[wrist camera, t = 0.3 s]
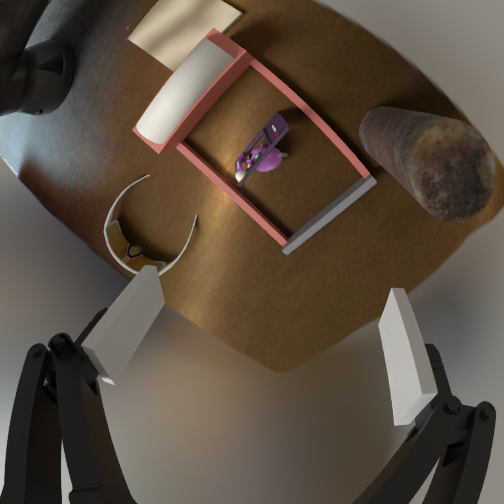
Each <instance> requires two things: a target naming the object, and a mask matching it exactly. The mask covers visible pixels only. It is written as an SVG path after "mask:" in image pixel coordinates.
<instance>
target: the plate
mask: <svg viewBox="0 0 504 504" xmlns="http://www.w3.org/2000/svg"><path fill="white" fill-rule="evenodd" d="M242 15H243V14H242V13H241V12H239V11H238V10H236V9H235V8H233V7H231V6H230V5H228V4H226V3H225V2H223V1H221V0H159V1H158V2H157V3H156V4H155V5H154V7H153V8H152V9H151V10H150V11H149V12H148V14H147V15H146V16H145V17H144V18H143V20H142V21H141V22H140V23H139V25H138V26H137V27H136V28H135V30H134V31H133V32H132V34H131V35H130V36H129V38H128V39H129V40H130V41H132V42H133V43H135V44H136V45H137V46H139V47H140V48H142V49H143V50H145V51H146V52H147V53H149V54H150V55H152V56H153V57H154V58H156V59H157V60H159V61H160V62H161V63H163V64H164V65H165V66H167V67H168V68H169V69H171V70H172V71H173V72H174V71H175V70H176V69H177V68H178V66H179V65H180V64H181V63H182V61H183V60H184V59H185V58H186V57H187V56H188V54H189V53H190V52H191V51H192V50H193V49H194V48H195V47H196V45H197V44H198V43H199V42H200V41H201V40H202V39H203V38H204V37H205V36H206V35H207V34H208V33H209V32H210V31H211V29H212V28H215V29H216V30H218V31H219V32H221V33H222V34H224V33H225V32H226V31H227V30H228V29H229V28H230V27H231V26H232V25H233V24H234V23H235V22H236V21H237V20H238V19H239V18H240V17H241V16H242Z"/></svg>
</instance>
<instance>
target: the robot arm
mask: <svg viewBox="0 0 504 504" xmlns="http://www.w3.org/2000/svg"><path fill="white" fill-rule="evenodd" d="M51 1H52V0H0V116H4V115H7V114H10V113H14V112H19V113H25V114H31V115H43V114H48V113H51V112H53V111H54V110H55V109H57V108H58V107H59V106H60V104H61V103H62V102H63V100H64V99H65V97H66V95H67V93H68V90H69V88H70V85H71V82H72V78H73V73H74V55H73V51H72V48H71V46H70V45H69V44H68V43H67V42H66V41H64V40H55V39H52V40H47V41H44V42H41V43H39V44H36V45H34V46H31V47H28V48H26V49H25V47H26V45H27V43H28V41H29V38H30V36H31V34H32V32H33V31H34V29H35V27H36V25H37V23H38V21H39V19H40V18H41V16H42V14H43V12H44V11H45V9H46V7H47V6H48V4H49V3H51ZM164 304H165V301H164V297H163V293H162V289H161V285H160V280H159V276H158V272H157V267H156V266H150V265H145V266H144V267H143V268H142V269H141V270H140V272H139V273H138V274H137V275H136V276H135V278H134V279H133V280H132V281H131V282H130V284H129V285H128V286H127V287H126V288H125V289H124V291H123V292H122V293H121V294H120V295H119V297H118V298H117V299H116V300H115V302H114V303H113V304H112V305H111V307H110V308H109V309H107V308H104V309H103V310H101V311H100V312H98V313H97V314H96V316H95V317H94V318H93V319H92V321H91V322H90V323H89V324H88V326H87V327H86V328H85V329H84V331H83V332H82V333H81V334H80V336H79V337H78V338H77V340H76V341H75V343H73V341H72V340H71V338H70V336H69V335H68V334H66V333H59V334H56V335H55V336H53V337H52V338H51V339H50V341H49V343H48V347H49V348H50V350H51V351H48V350H47V348H46V347H45V345H43V344H40V343H38V344H35V345H33V346H32V347H31V348H30V349H29V351H28V353H27V356H26V359H25V363H24V366H23V369H22V373H21V377H20V380H19V384H18V388H17V392H16V396H15V401H14V405H13V410H12V415H11V420H10V426H9V433H8V440H7V449H6V460H5V477H4V487H3V490H2V493H1V496H0V504H62V491H61V444H62V441H63V447H64V452H65V457H66V462H67V467H68V471H69V475H70V479H71V483H72V487H73V489H72V491H71V492H70V493H69V501H70V504H137V503H136V502H135V500H134V499H133V498H132V496H131V494H130V491H129V489H128V486H127V484H126V481H125V479H124V476H123V473H122V470H121V467H120V464H119V461H118V459H117V456H116V452H115V449H114V446H113V442H112V439H111V436H110V432H109V428H108V424H107V420H106V417H105V412H104V408H103V403H102V399H101V394H100V389H99V384H98V381H97V379H96V378H97V376H98V375H100V376H101V378H102V379H103V380H104V381H106V382H108V383H111V384H114V385H115V384H116V383H117V381H118V379H119V377H120V376H121V374H122V372H123V371H124V369H125V367H126V366H127V364H128V362H129V360H130V359H131V357H132V355H133V354H134V352H135V350H136V349H137V347H138V345H139V344H140V342H141V340H142V339H143V337H144V336H145V334H146V332H147V331H148V329H149V327H150V326H151V324H152V323H153V321H154V319H155V318H156V316H157V315H158V313H159V311H160V310H161V308H162V307H163V305H164ZM378 326H379V330H380V335H381V340H382V344H383V350H384V354H385V360H386V365H387V372H388V378H389V385H390V391H391V398H392V406H393V415H394V424H395V425H406V424H410V423H411V422H412V421H413V420H414V419H415V422H416V426H414V427H413V428H412V429H411V430H410V431H409V432H408V433H407V435H408V437H407V438H406V439H405V441H404V442H403V444H402V445H401V447H400V448H399V449H398V450H397V452H396V453H395V454H394V456H393V457H392V458H391V460H390V461H389V462H388V463H387V465H386V466H385V467H384V469H383V470H382V471H381V472H380V473H379V475H378V476H377V477H376V478H375V479H374V480H373V481H372V483H371V484H370V485H369V486H368V487H367V488H366V489H365V490H364V491H363V492H362V494H361V495H360V496H359V497H358V498H357V499H356V500H355V501H354V502H353V503H352V504H409V502H410V501H411V500H412V498H413V497H414V496H415V494H416V493H417V492H418V490H419V489H420V487H421V486H422V484H423V483H424V481H425V480H426V478H427V477H428V475H429V474H430V472H431V471H432V469H433V467H434V466H435V464H436V462H437V461H438V459H439V457H440V459H439V462H438V465H437V468H436V471H435V474H434V476H433V479H432V481H431V484H430V487H429V489H428V492H427V494H426V497H425V498H424V501H423V503H422V504H477V503H478V499H479V497H480V493H481V490H482V487H483V483H484V479H485V476H486V472H487V468H488V463H489V459H490V454H491V448H492V443H493V436H494V429H495V421H496V411H495V408H494V406H493V405H492V404H491V403H489V402H486V401H485V402H484V401H483V402H481V403H480V404H478V406H477V407H472V406H466V405H462V404H461V402H460V400H459V399H458V398H457V397H456V396H453V395H452V393H451V390H450V386H449V383H448V379H447V376H446V373H445V369H444V366H443V363H442V362H441V357H440V354H439V351H438V350H437V349H436V347H435V346H434V345H433V344H424V342H423V339H422V336H421V333H420V330H419V327H418V324H417V321H416V318H415V316H414V313H413V311H412V308H411V305H410V303H409V300H408V297H407V295H406V292H405V290H404V289H401V288H391V291H390V294H389V297H388V300H387V303H386V306H385V309H384V311H383V314H382V317H381V320H380V322H379V325H378ZM44 382H45V385H44Z"/></svg>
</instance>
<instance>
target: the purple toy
mask: <svg viewBox="0 0 504 504" xmlns="http://www.w3.org/2000/svg"><path fill="white" fill-rule="evenodd" d="M289 129H290V125H289V124H288V123H287V122H286V120H285V119H284V118H283V117H282V116H281V114H280V113H278V112H276V113H275V115H274V116H273V117H272V118H271V119H270V120H269V122H268V123H267V124H266V125H265V126H264V128H263V129H262V130H261V131H260V132H259V134H258V135H257V136H256V137H255V138H254V140H253V141H252V142H251V143H250V145H249V146H248V147H247V148H246V150H245V151H244V152H243V153H242V155H241V156H239V158H238V160H237V161H236V162H235V167H236V179H237V185H238V186H240V187H241V186H242V185H243V183H244V182H245V181H246V180H247V178H248V177H249V176H250V175H251V174H252V172H253V171H254V170H255V169H257V170H258V172H259V171H263V172H266V171H270V170H272V169H274V168H276V167H277V166H278V165H279V164H280V162H281V160H282V157H283V156H284V157H285V156H288V154H287V153H281V152H280V151H279V150H278V149H276V148H274V146H275V145H276V144H277V143H278V142H279V140H280V139H281V138H282V137H283V136H284V135H285V134H286V132H287V131H288V130H289ZM262 134H264V136H265V139H266V141H267V143H268V146H269V147H263V144H261V146H260V147H258V148H255V149H253V150H252V152H251V153H250V154H249V157H248V158H249V159H247V160H246V161H247V162H246V165H247V164H248V163H249V164H248V166H247V168H246V171H245V170H243V167H242V164H241V160H242V159H243V158H244V156H245V155H246V154H247V153H248V151H249V150H250V149H251V148H252V146H253V145H254V144H255V143H256V142H257V140H258V139H259V138H260V137H261V136H262ZM247 171H248V172H247ZM246 172H247V173H246ZM245 174H246V175H245Z"/></svg>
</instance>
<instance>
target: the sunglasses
mask: <svg viewBox="0 0 504 504" xmlns="http://www.w3.org/2000/svg"><path fill="white" fill-rule="evenodd" d="M148 176H150V174H148V175H146V176H144V177H142V178H140V179H139V180H137V181H135V182H134V183H132V184H131V185H129V186H128V187H127V188H126V189H125V190H124V191H123V192H122V193H121V194H120V195H119V197H118V198H117V200H116V201H115V203H114V204H113V206H112V208H111V209H110V212H109V214H108V216H107V220H106V223H105V226H104V235H105V239H106V244H107V246H108V248H109V250H110V252H111V254H112V255H113V257H114V258H115V259H116V260H117V261H118V262H119V263H120V264H121V265H122V266H123V267H124V268H126V269H127V270H129V271H131V272H133V273H135V274H138V273H139V272H140V270H141V269H142V268H143V267H144V266H145V265H150V266H156V267H157V272H158V276H160V275H161V274H163V273H164V272H166V271H167V270H168V269H169V268H171V267H172V266H173V265H174V264H175V263H176V262H177V260H178V259H179V258H180V257H181V255H182V254H183V252H184V251H185V249H186V248H187V246H188V244H189V242H190V239H191V237H192V234H193V231H194V228H195V225H196V221H197V215H196V216H195V220H194V224H193V227H192V230H191V233H190V236H189V239H188V241H187V243H186V245H185V247H184V249H183V250H182V252H181V253H180V255H179V256H178V257H177V258H176V259H175V260H174V261H173V262H172V263H171V264H169V265H168V266H166V267H165V265H166V262H161V261H153V260H151V259H148V258H146V257H144V256H143V255H142V254H141V253H139V254H136V255H134V256H131V255H130V254H129V250H130V247H131V244H129V243H128V242H127V241H126V239H125V238H124V236H123V234H122V232H121V229H120V226H119V223H118V220H115V221H112V222H111V223H110V221H111V218H112V214H113V210H114V207H115V205H116V203H117V202H118V200H119V199H120V198H121V197H122V195H123V194H124V193H125V192H126V191H127V190H128V189H129V188H130V187H131V186H133V185H134V184H136V183H137V182H139V181H141V180H142V179H144V178H146V177H148Z"/></svg>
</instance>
